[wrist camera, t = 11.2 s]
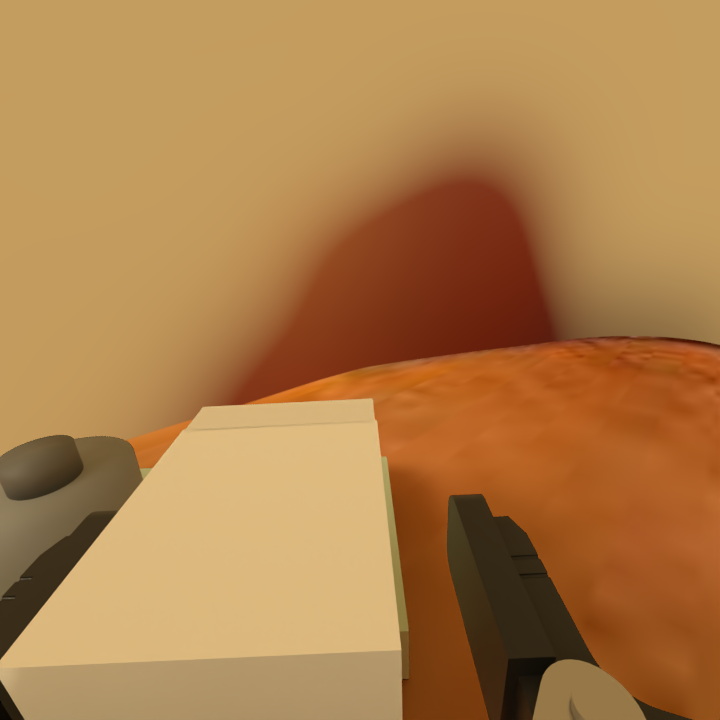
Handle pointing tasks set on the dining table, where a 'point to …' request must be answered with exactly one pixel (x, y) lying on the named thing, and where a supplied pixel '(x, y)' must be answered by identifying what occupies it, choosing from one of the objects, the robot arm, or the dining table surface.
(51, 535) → the deck
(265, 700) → the beige bar
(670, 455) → the dining table surface
